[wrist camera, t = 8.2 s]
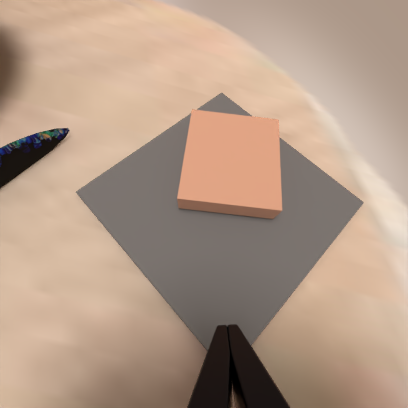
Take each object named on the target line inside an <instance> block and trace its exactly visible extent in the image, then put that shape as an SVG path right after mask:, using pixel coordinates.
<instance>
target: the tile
mask: <svg viewBox="0 0 408 408" xmlns="http://www.w3.org/2000/svg"><path fill="white" fill-rule="evenodd" d="M177 201H178V208H181V209H190V210H199V211H207V212H216V213H224V214H233V215H242V216H250V217H259V218H268V219H274V218H275V217H276V216H277V215H278V214H279V213H280V212H281V211H282V191H281V167H280V142H279V120H277V119H269V118H260V117H252V116H244V115H235V114H227V113H219V112H210V111H202V110H194V109H192V112H191V118H190V124H189V130H188V136H187V142H186V148H185V154H184V160H183V166H182V172H181V178H180V184H179V190H178V196H177Z"/></svg>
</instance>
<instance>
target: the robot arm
mask: <svg viewBox="0 0 408 408" xmlns="http://www.w3.org/2000/svg"><path fill="white" fill-rule="evenodd" d="M232 386H233V393H234V399H235V404H236V408H290V406H289V405H288V403H287V402H286V400H285V398H284V397H283V395H282V394H281V392H280V391H279V389H278V387H277V386H276V384H275V383H274V381H273V380H272V378H271V376H270V375H269V373H268V372H267V370H266V369H265V367H264V365H263V364H262V362H261V361H260V359H259V358H258V356H257V354H256V353H255V351H254V350H253V348H252V347H251V345H250V343H249V342H248V340H247V339H246V337H245V336H244V334H243V332H242V331H241V329H240V328H239V326H238V325H237V324H229V325H228V326H227V325H218V326H217V327H216V330H215V332H214V335H213V338H212V340H211V343H210V346H209V349H208V351H207V354H206V357H205V360H204V362H203V365H202V368H201V371H200V373H199V376H198V379H197V382H196V384H195V387H194V390H193V393H192V395H191V398H190V401H189V404H188V406H187V408H232Z"/></svg>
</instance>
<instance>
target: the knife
mask: <svg viewBox="0 0 408 408" xmlns="http://www.w3.org/2000/svg"><path fill="white" fill-rule="evenodd" d="M68 132H69V129H68V128H62V129H52V130H48V131H43V132H39V133H36V134H33V135H30V136H27V137H24V138H22V139H19V140H17V141H14V142H12V143H9V144H8V145H6V146H4V147H2V148H0V187H1V186H3V185H4V184H6V183H7V182H9V181H10V180H11V179H13V178H14V177H16V176H17V175H18V174H20V173H21V172H23V171H24V170H25V169H27V168H28V167H30V166H31V165H32V164H34V163H35V162H36V161H38V160H39V159H40V158H42V157H43V156H44V155H46V154H47V153H48V152H50V151H51V150H52V149H53V148H54V147H55V146H56V145H57V144H59V143H60V142H61V141H62V140H63V139H64V138H65V137H66V135H67V134H68Z"/></svg>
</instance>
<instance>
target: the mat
mask: <svg viewBox="0 0 408 408" xmlns="http://www.w3.org/2000/svg"><path fill="white" fill-rule="evenodd" d="M197 110H202V111H210V112H219V113H227V114H235V115H244V116H251V115H250V114H249V113H247V112H246V111H245V110H243V109H242V108H241V107H240V106H238V105H237V104H236V103H234V102H233V101H232V100H230V99H229V98H228V97H227V96H225V95H224V94H223V93H220V94H219V95H217V96H216V97H214V98H213V99H212V100H210V101H209V102H207V103H206V104H204V105H203V106H201V107H200V108H198V109H197ZM252 117H253V116H252ZM190 118H191V114H190V115H188V116H187V117H185V118H184V119H182V120H181V121H179V122H178V123H176V124H175V125H173V126H172V127H170V128H169V129H167V130H166V131H165V132H163V133H162V134H160V135H159V136H157V137H156V138H154V139H153V140H151V141H150V142H148V143H147V144H145V145H144V146H142V147H141V148H140V149H138V150H137V151H135V152H134V153H132V154H131V155H129V156H128V157H126V158H125V159H123V160H122V161H120V162H119V163H118V164H116V165H115V166H113V167H112V168H110V169H109V170H107V171H106V172H104V173H103V174H101V175H100V176H98V177H97V178H95V179H94V180H93V181H91V182H90V183H88V184H87V185H85V186H84V187H82V188H81V189H79V190H78V191H76V193H77V194H78V195H79V197H80V198H81V199H82V200H83V201H84V203H85V204H86V205H87V206H88V207H89V209H90V210H91V211H92V212H93V213H94V215H95V216H96V217H97V218H98V220H99V221H100V222H101V223H102V224H103V226H104V227H105V228H106V229H107V230H108V232H109V233H110V234H111V235H112V236H113V238H114V239H115V240H116V241H117V242H118V244H119V245H120V246H121V247H122V248H123V250H124V251H125V252H126V253H127V254H128V256H129V257H130V258H131V259H132V261H133V262H134V263H135V264H136V265H137V267H138V268H139V269H140V270H141V271H142V273H143V274H144V275H145V276H146V277H147V279H148V280H149V281H150V282H151V283H152V285H153V286H154V287H155V288H156V289H157V291H158V292H159V293H160V294H161V295H162V297H163V298H164V299H165V300H166V302H167V303H168V304H169V305H170V306H171V308H172V309H173V310H174V311H175V312H176V314H177V315H178V316H179V317H180V318H181V320H182V321H183V322H184V323H185V324H186V326H187V327H188V328H189V329H190V330H191V332H192V333H193V334H194V335H195V336H196V338H197V339H198V340H199V341H200V343H201V344H202V345H203V346H204V347H205V349H206V350H207V351H208V349H209V346H210V343H211V340H212V338H213V335H214V332H215V330H216V327H217V326H218V325H227V326H228V325H229V324H237V325H238V326H239V328H240V329H241V331H242V332H243V334H244V336H245V337H246V339H247V340H248V342H249V343H250V345H252V344H253V343H254V341H255V340H256V339H257V337H258V336H259V335H260V334H261V332H262V331H263V330H264V329H265V327H266V326H267V325H268V323H269V322H270V321H271V320H272V318H273V317H274V316H275V315H276V313H277V312H278V311H279V310H280V308H281V307H282V306H283V304H284V303H285V302H286V301H287V299H288V298H289V297H290V296H291V294H292V293H293V292H294V290H295V289H296V288H297V287H298V285H299V284H300V283H301V282H302V280H303V279H304V278H305V277H306V275H307V274H308V273H309V271H310V270H311V269H312V268H313V266H314V265H315V264H316V263H317V261H318V260H319V259H320V258H321V256H322V255H323V254H324V252H325V251H326V250H327V249H328V247H329V246H330V245H331V244H332V242H333V241H334V240H335V238H336V237H337V236H338V235H339V233H340V232H341V231H342V230H343V228H344V227H345V226H346V225H347V223H348V222H349V221H350V219H351V218H352V217H353V216H354V214H355V213H356V212H357V211H358V209H359V208H360V207H361V205H362V204H363V203H364V202H363V201H361V200H360V199H359V198H357V197H356V196H355V195H353V194H352V193H351V192H350V191H348V190H347V189H346V188H344V187H343V186H342V185H341V184H339V183H338V182H337V181H335V180H334V179H333V178H331V177H330V176H329V175H328V174H326V173H325V172H324V171H322V170H321V169H320V168H319V167H317V166H316V165H315V164H313V163H312V162H311V161H309V160H308V159H307V158H306V157H304V156H303V155H302V154H300V153H299V152H298V151H297V150H295V149H294V148H293V147H291V146H290V145H289V144H287V143H286V142H285V141H284V140H282V139H281V138H280V137H279V142H280V167H281V191H282V211H281V212H280V213H279V214H278V215H277V216H276V217H275V218H274V219H268V218H259V217H250V216H242V215H233V214H224V213H216V212H207V211H199V210H190V209H181V208H178V201H177V196H178V190H179V184H180V178H181V172H182V166H183V160H184V154H185V148H186V142H187V136H188V130H189V124H190Z"/></svg>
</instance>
